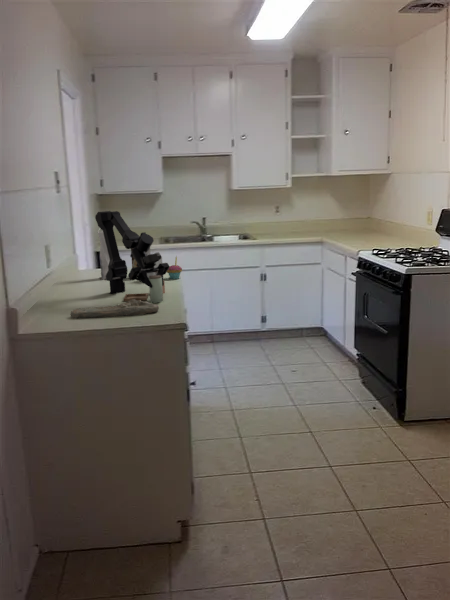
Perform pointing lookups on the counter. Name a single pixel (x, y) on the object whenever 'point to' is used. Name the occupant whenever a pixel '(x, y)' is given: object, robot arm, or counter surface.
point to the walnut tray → (136, 297)
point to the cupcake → (174, 271)
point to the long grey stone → (116, 310)
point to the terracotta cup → (163, 288)
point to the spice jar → (156, 288)
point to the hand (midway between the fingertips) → (157, 286)
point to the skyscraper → (103, 256)
